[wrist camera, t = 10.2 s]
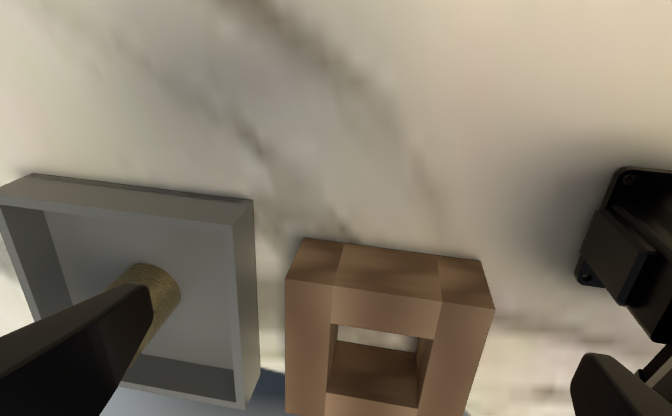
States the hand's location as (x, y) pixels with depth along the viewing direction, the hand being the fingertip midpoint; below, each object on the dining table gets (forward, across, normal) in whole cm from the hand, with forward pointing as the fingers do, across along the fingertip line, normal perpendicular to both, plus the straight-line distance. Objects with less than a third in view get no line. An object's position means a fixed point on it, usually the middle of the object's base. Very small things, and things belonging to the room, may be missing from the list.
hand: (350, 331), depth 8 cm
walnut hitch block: (+13, -1, +11) cm, 17 cm away
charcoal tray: (+13, +14, +11) cm, 22 cm away
